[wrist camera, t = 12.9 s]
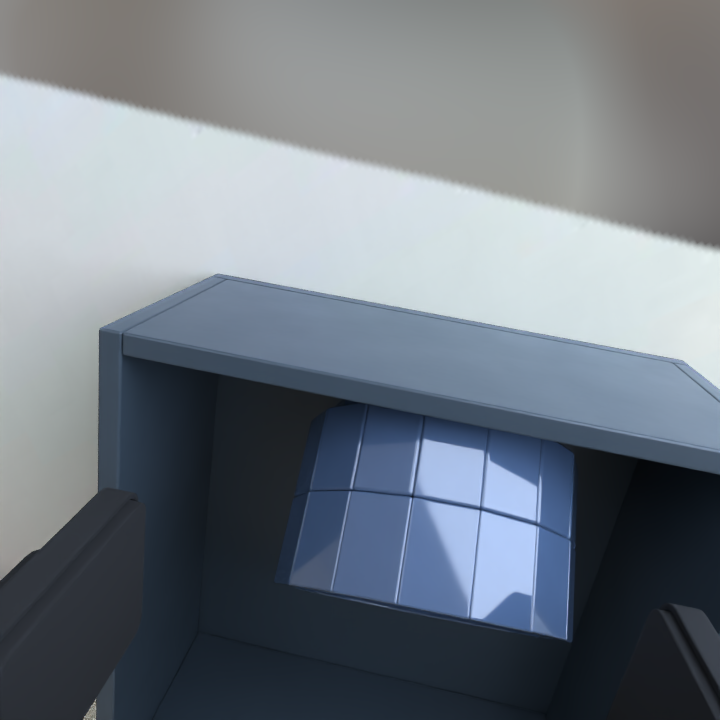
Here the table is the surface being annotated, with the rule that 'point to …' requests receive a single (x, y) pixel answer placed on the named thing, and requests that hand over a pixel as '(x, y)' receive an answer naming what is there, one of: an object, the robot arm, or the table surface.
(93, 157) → the table surface
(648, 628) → the robot arm
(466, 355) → the tub
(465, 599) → the faceted blue pot
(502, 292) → the table surface
